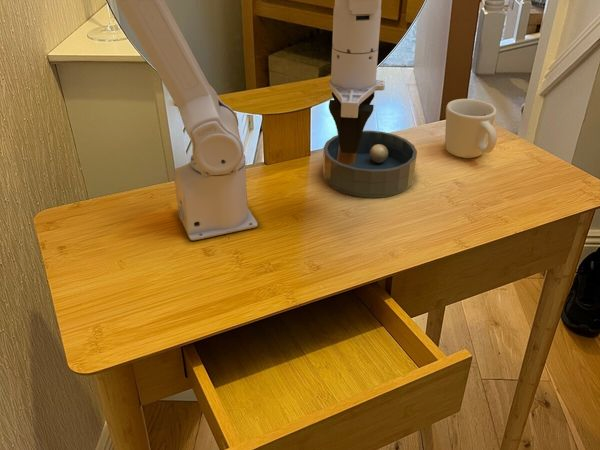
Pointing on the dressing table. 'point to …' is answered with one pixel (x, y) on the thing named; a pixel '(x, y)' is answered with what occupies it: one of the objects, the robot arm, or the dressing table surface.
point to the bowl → (371, 167)
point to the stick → (346, 157)
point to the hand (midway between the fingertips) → (349, 147)
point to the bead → (378, 153)
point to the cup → (470, 127)
